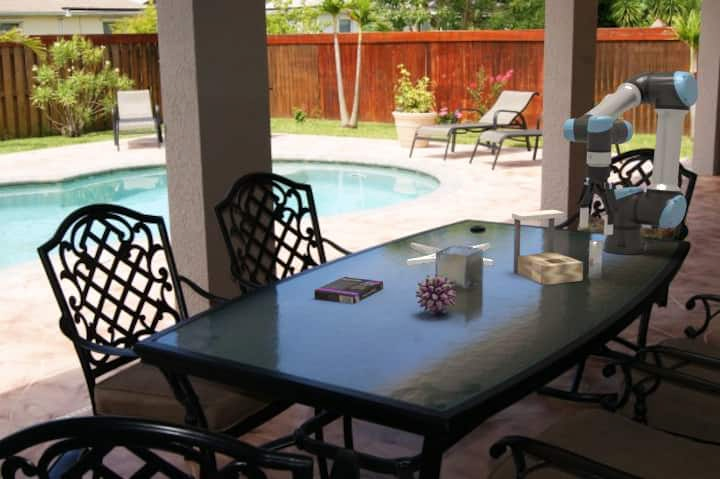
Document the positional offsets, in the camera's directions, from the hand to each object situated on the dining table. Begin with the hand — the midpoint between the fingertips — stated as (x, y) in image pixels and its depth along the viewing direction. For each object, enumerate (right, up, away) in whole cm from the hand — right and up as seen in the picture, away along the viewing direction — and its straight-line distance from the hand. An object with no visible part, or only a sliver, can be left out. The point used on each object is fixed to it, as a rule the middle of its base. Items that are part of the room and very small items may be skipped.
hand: (595, 231), depth 299 cm
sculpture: (-43, -10, +38) cm, 58 cm away
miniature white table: (-17, -14, +12) cm, 25 cm away
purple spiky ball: (-54, -24, -35) cm, 69 cm away
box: (-79, -20, -11) cm, 82 cm away
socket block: (-14, -15, +4) cm, 21 cm away
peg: (0, -15, +3) cm, 15 cm away
